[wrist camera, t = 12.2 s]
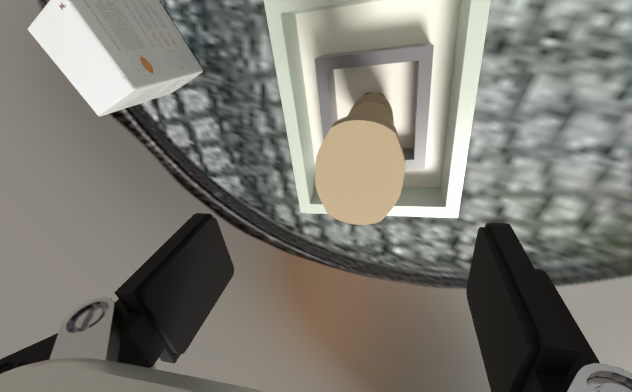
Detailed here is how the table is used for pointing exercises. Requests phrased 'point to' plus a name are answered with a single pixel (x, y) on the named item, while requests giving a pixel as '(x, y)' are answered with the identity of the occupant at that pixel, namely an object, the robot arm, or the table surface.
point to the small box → (115, 50)
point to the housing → (383, 85)
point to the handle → (361, 163)
